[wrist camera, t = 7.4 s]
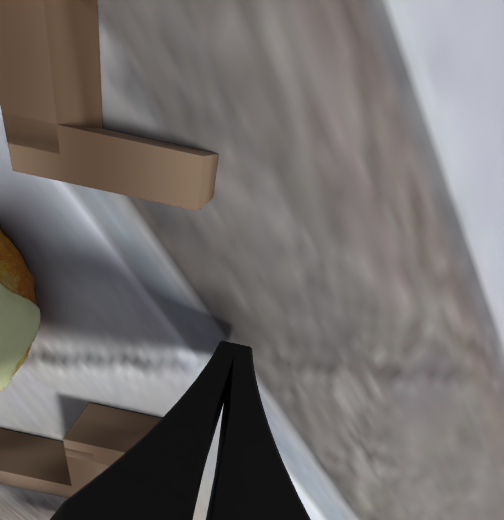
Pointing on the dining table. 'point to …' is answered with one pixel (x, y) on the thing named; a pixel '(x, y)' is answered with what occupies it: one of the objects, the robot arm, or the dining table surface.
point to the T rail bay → (85, 174)
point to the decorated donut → (15, 310)
